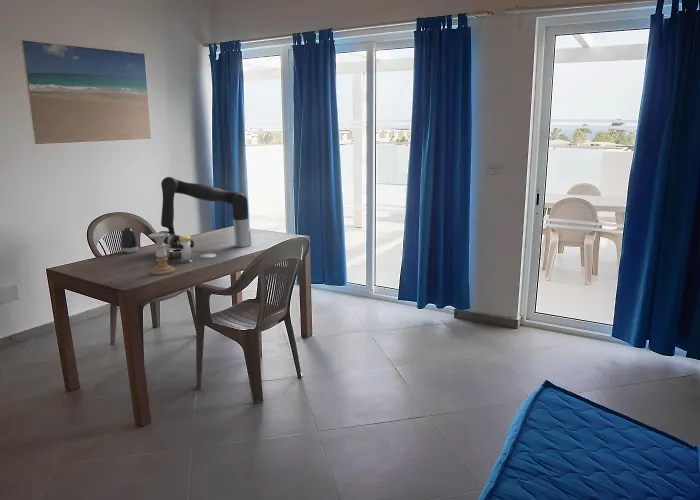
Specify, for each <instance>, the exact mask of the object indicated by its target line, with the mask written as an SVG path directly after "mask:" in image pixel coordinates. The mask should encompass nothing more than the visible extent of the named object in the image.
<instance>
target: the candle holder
mask: <svg viewBox="0 0 700 500" xmlns="http://www.w3.org/2000/svg"><path fill="white" fill-rule="evenodd" d="M169 236H170V233H165V232H161V233H159V232H153V233H150V234H148V238H150V239H154V240H155V242H156V244H155V245H154V247H155V248H156V253H155V257H157V258H156V259H155V261H156V262H157V265H156V266H154V267H153V268H152V269H151V270H150V274H151V275H154V276H164V275H165V276H166V275H170V274H173V273H175V272H176V268H175V267H174V266H171V265H169V264H168V262H167V261H169V258H168V257H167V255H168V253H167V251H166V244H164V240H165V238H166V237H169Z"/></svg>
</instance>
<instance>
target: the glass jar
mask: <svg viewBox="0 0 700 500" xmlns="http://www.w3.org/2000/svg"><path fill="white" fill-rule="evenodd" d="M180 236H181V235H180ZM179 240H180V243H181V245H183V249H180V251H181V252H180V253H181V254H180V255H181V260H182V259H190V258H191V259H192V248H191V245H190V240H192V237H191V235H184V236H183V235H182V236H181V237H179Z"/></svg>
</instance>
